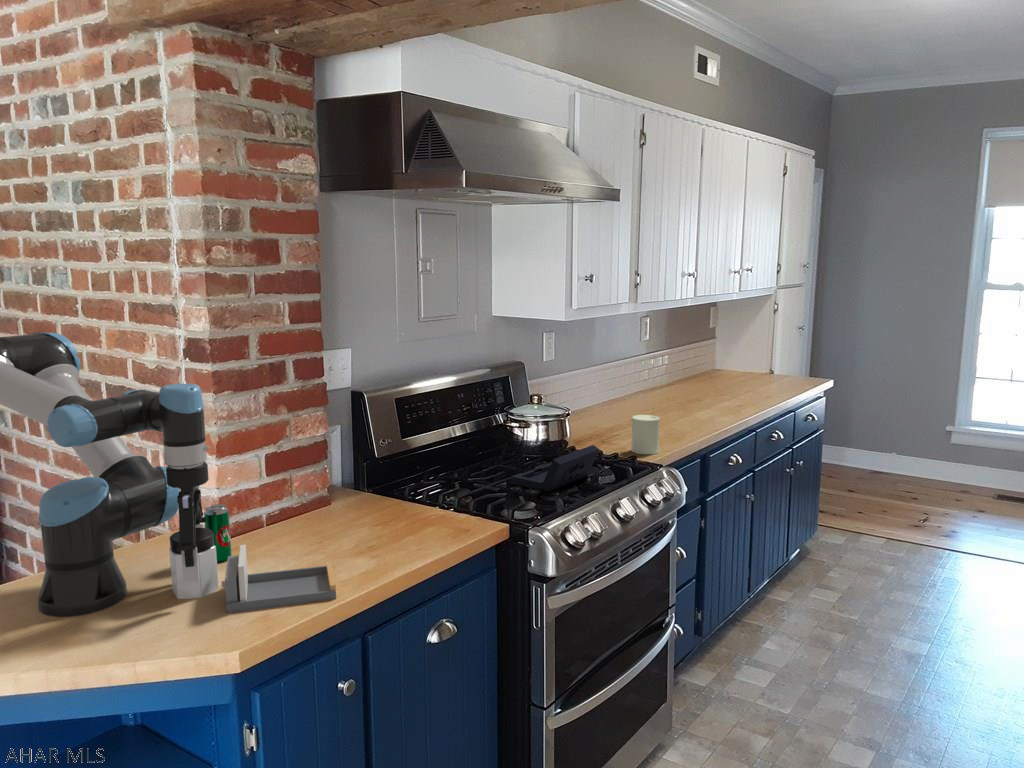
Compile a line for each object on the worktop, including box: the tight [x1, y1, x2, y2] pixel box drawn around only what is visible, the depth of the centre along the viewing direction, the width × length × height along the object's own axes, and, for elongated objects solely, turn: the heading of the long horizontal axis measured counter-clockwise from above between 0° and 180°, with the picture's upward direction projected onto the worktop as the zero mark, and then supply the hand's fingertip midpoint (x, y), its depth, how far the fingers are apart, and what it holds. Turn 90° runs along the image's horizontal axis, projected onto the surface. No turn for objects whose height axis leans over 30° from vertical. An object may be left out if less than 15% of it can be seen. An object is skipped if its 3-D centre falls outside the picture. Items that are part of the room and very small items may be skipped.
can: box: [630, 414, 661, 456], centre depth 264 cm, size 9×9×12 cm
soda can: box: [203, 503, 233, 564], centre depth 173 cm, size 5×5×12 cm
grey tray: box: [224, 555, 337, 614], centre depth 156 cm, size 20×13×7 cm, turn 107°
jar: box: [168, 527, 220, 600], centre depth 157 cm, size 9×8×12 cm
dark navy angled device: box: [512, 444, 600, 492], centre depth 231 cm, size 21×16×10 cm
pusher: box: [221, 544, 248, 601], centre depth 153 cm, size 4×11×8 cm, turn 17°
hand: (195, 567), depth 157 cm, fingers open, 13 cm apart
